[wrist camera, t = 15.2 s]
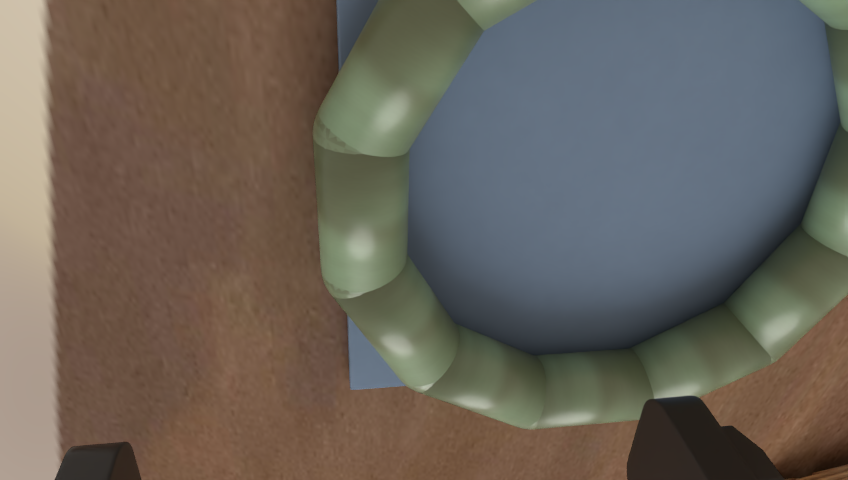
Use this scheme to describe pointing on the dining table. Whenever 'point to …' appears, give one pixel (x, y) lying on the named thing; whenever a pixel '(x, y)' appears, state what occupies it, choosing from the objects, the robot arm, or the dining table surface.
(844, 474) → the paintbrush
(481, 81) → the mat
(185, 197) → the dining table surface
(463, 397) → the ring
